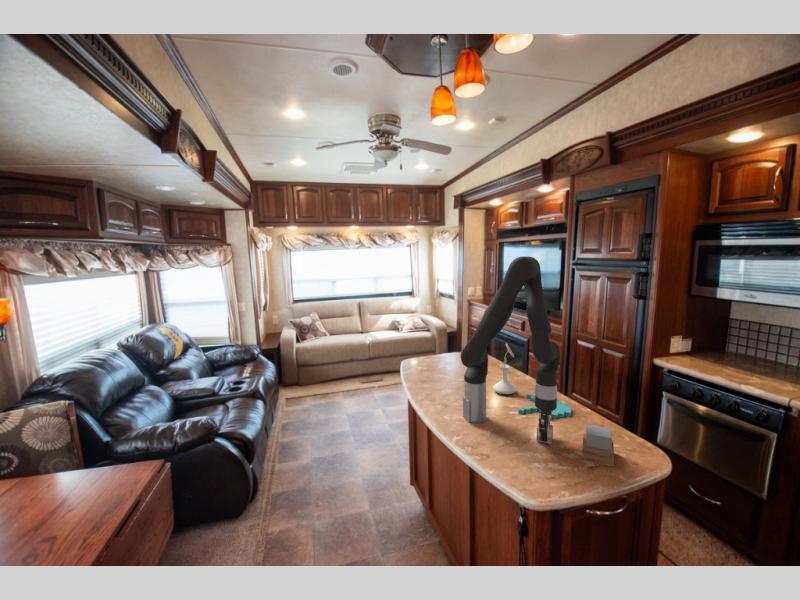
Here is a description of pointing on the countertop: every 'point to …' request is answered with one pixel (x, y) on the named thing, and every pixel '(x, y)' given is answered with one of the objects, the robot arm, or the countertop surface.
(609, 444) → the slate top block
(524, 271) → the robot arm
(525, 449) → the countertop surface
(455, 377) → the countertop surface
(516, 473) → the countertop surface
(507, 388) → the flower in vase
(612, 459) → the walnut base block
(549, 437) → the maple cube
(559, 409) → the alien figure
